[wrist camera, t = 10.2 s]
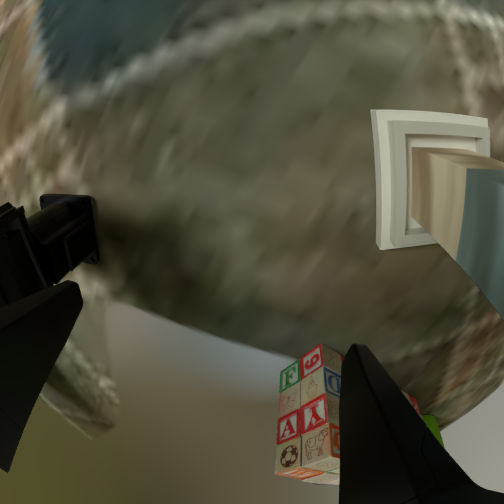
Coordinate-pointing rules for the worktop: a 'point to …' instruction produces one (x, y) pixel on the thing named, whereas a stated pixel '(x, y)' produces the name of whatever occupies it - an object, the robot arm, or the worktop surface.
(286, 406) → the stack of blocks
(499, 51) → the worktop surface
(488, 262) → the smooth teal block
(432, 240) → the base plate
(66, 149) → the worktop surface
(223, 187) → the worktop surface
